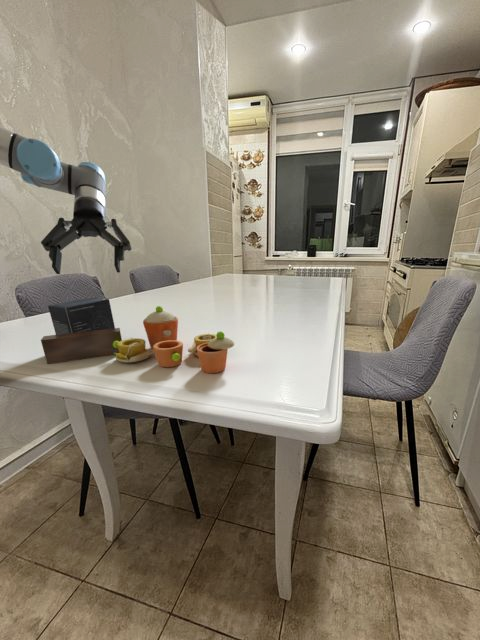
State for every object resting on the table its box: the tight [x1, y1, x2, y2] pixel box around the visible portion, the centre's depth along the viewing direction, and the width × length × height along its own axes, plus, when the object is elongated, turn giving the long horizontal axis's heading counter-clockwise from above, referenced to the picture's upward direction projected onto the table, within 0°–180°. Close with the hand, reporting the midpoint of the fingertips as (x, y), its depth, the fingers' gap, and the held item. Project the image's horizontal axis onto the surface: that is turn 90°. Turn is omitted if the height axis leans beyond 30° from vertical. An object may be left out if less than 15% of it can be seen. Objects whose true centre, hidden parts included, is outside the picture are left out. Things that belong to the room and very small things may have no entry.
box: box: [47, 296, 116, 335], centre depth 66 cm, size 11×7×10 cm, turn 155°
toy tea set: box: [113, 305, 235, 374], centre depth 60 cm, size 26×16×10 cm, turn 72°
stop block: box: [40, 327, 123, 365], centre depth 61 cm, size 14×3×5 cm, turn 116°
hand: (87, 269), depth 72 cm, fingers open, 13 cm apart
